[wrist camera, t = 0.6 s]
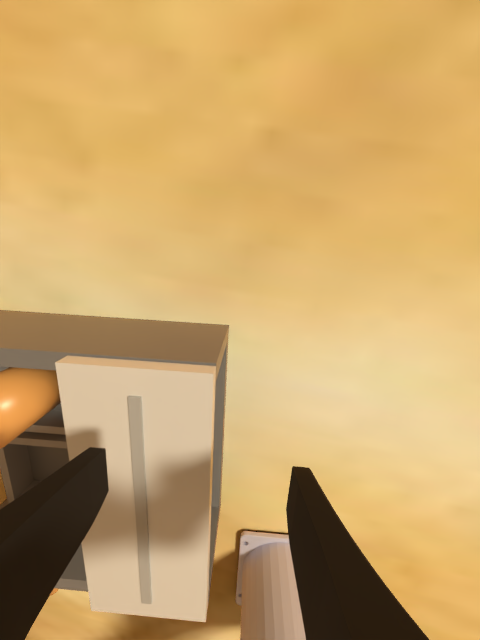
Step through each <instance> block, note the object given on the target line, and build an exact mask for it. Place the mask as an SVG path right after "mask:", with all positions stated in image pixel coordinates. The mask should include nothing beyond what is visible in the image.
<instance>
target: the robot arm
mask: <svg viewBox="0 0 480 640" xmlns="http://www.w3.org/2000/svg"><path fill="white" fill-rule="evenodd" d="M108 492H109V487H108V474H107V462H106V449H105V448H95V447H89V448H88V449H86V450H85V451H84V452H82V453H81V454H79V455H78V456H76V457H75V458H74V459H72V460H71V461H69V462H68V463H67V464H65V465H64V466H62V467H61V468H60V469H58V470H57V471H55V472H54V473H53V474H51V475H50V476H48V477H47V478H46V479H44V480H43V481H41V482H40V483H38V484H37V485H36V486H34V487H33V488H31V489H30V490H28V491H27V492H26V493H24V494H23V495H21V496H20V497H18V498H17V499H15V500H14V501H12V502H11V503H9V504H8V505H6V506H5V507H3V508H2V509H0V640H25V638H26V636H27V634H28V632H29V630H30V628H31V626H32V625H33V623H34V621H35V619H36V618H37V616H38V614H39V612H40V611H41V609H42V607H43V605H44V604H45V602H46V600H47V599H48V597H49V595H50V594H51V592H52V591H53V589H54V587H55V586H56V584H57V582H58V581H59V579H60V577H61V576H62V574H63V572H64V571H65V569H66V568H67V566H68V564H69V563H70V561H71V559H72V558H73V556H74V554H75V553H76V551H77V550H78V548H79V546H80V545H81V543H82V541H83V540H84V538H85V536H86V535H87V533H88V531H89V530H90V528H91V526H92V524H93V523H94V521H95V519H96V517H97V515H98V513H99V511H100V509H101V507H102V504H103V502H104V500H105V498H106V496H107V494H108ZM286 511H287V523H288V535H284V534H273V533H262V532H251V531H243V532H242V533H241V535H240V548H239V562H238V575H237V588H236V603H237V604H238V605H241V636H240V640H429V639H428V637H427V636H426V635H425V634H424V633H423V631H422V630H421V629H420V628H419V627H418V625H417V624H416V623H415V622H414V620H413V619H412V618H411V617H410V615H409V614H408V613H407V612H406V611H405V609H404V608H403V607H402V605H401V604H400V603H399V602H398V600H397V599H396V598H395V596H394V595H393V594H392V593H391V591H390V590H389V589H388V587H387V586H386V585H385V583H384V582H383V581H382V579H381V578H380V577H379V575H378V574H377V573H376V571H375V570H374V569H373V567H372V566H371V564H370V563H369V562H368V560H367V559H366V557H365V556H364V554H363V553H362V552H361V550H360V549H359V547H358V546H357V544H356V543H355V541H354V540H353V539H352V537H351V536H350V534H349V532H348V531H347V529H346V528H345V526H344V525H343V523H342V522H341V520H340V519H339V517H338V515H337V514H336V512H335V511H334V509H333V507H332V506H331V504H330V502H329V501H328V499H327V497H326V496H325V494H324V492H323V491H322V489H321V487H320V485H319V484H318V482H317V480H316V478H315V477H314V475H313V473H312V471H311V470H310V469H309V468H305V467H295V466H293V467H292V474H291V481H290V487H289V494H288V501H287V507H286Z"/></svg>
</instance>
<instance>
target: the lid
mask: <svg viewBox="0 0 480 640" xmlns="http://www.w3.org/2000/svg"><path fill="white" fill-rule="evenodd" d="M55 366H56V373H57V380H58V386H59V393H60V400H61V407H62V414H63V421H64V428H65V434H66V441H67V448H68V455H69V461H71V460H72V459H74V458H75V457H76V456H78V455H79V454H81V453H82V452H84V451H85V450H86V449H88V448H89V447H95V448H105V449H106V462H107V474H108V487H109V492H108V494H107V496H106V498H105V500H104V502H103V504H102V507H101V509H100V511H99V513H98V515H97V517H96V519H95V521H94V523H93V524H92V526H91V528H90V530H89V531H88V533H87V535H86V536H85V538H84V540H83V541H82V543H81V544H82V551H83V558H84V565H85V572H86V578H87V585H88V592H89V599H90V606H91V611H100V612H110V613H120V614H130V615H139V616H149V617H159V618H169V619H178V620H188V621H198V622H206V617H207V609H208V590H209V560H210V530H211V501H212V471H213V441H214V412H215V382H216V366H208V365H194V364H180V363H166V362H151V361H137V360H123V359H109V358H95V357H81V356H66V357H64V358H62V359H60V360H59V361H57V362H55Z"/></svg>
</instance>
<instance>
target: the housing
mask: <svg viewBox="0 0 480 640" xmlns="http://www.w3.org/2000/svg"><path fill="white" fill-rule="evenodd" d="M228 331H229V325H216V324H201V323H186V322H171V321H156V320H140V319H125V318H110V317H95V316H80V315H65V314H50V313H35V312H20V311H5V310H0V470H1V474H2V479H3V483H4V487H5V491H6V496H7V499H6V500H5V501H4V502H3V503H2V504H1V505H0V509H2V508H3V507H5V506H6V505H8V504H9V503H11V502H12V501H14V500H15V499H17V498H18V497H20V496H21V495H23V494H24V493H26V492H27V491H28V490H30V489H31V488H33V487H34V486H36V485H37V484H38V483H40V482H41V481H43V480H44V479H46V478H47V477H48V476H50V475H51V474H53V473H54V472H55V471H57V470H58V469H60V468H61V467H62V466H64V465H65V464H67V463H68V462H69V455H68V448H67V441H66V434H65V428H64V421H63V414H62V407H61V400H60V393H59V386H58V380H57V373H56V366H55V362H57V361H59V360H60V359H62V358H64V357H66V356H81V357H95V358H109V359H123V360H137V361H151V362H166V363H180V364H194V365H208V366H216V382H215V412H214V441H213V471H212V501H211V530H210V560H209V590H208V601H209V593H210V585H211V577H212V569H213V561H214V553H215V545H216V537H217V529H218V521H219V513H220V505H221V484H222V462H223V440H224V418H225V397H226V375H227V353H228ZM54 588H58V589H67V590H77V591H87V592H88V585H87V578H86V572H85V565H84V558H83V551H82V544H81V545H80V546H79V548H78V550H77V551H76V553H75V554H74V556H73V558H72V559H71V561H70V563H69V564H68V566H67V568H66V569H65V571H64V572H63V574H62V576H61V577H60V579H59V581H58V582H57V584H56V586H55V587H54Z"/></svg>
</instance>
